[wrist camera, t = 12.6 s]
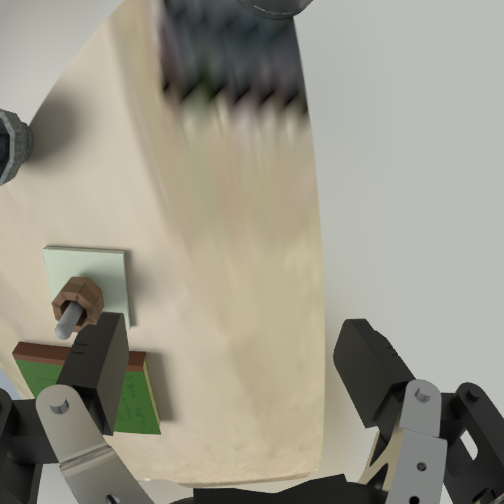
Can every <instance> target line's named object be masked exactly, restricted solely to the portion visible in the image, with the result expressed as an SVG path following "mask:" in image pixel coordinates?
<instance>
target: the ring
mask: <svg viewBox="0 0 504 504" xmlns="http://www.w3.org/2000/svg"><path fill="white" fill-rule="evenodd" d="M72 300H74V301H77V302H78V303H80V304H81V305H82V306H83V307H84V308H85V309H84V310H83V312H82V314H81V316H80V318H79V320H78V322H77V324H76V325H75V327H74V329H73V331H72V332H79V331H81V330H82V329H83V328H84V327H85V326H86V325H87V324H94V325H96V324H97V321H98V319H99V317H100V315H101V312H102V310H103V308H104V300H103V293H102V290H101V289H100V288H99V287H98V286H97V285H96V284H95V283H94V282H93V281H92V280H90V279H89V278H88V277H74V276H72V277H71V278H70V279H69V280H68V281H67V283H66V284H65V285H64V286H63V288H62V289H61V290H60V292H59V293H58V295H57V296H56V297H55V299H54V300H53V302H52V306H53V310H54V314H55V318H56V320H57V321H58V322H59V321H60V319H61V317H62V316H63V314H64V312H65V311H66V309H67V307H68V306H69V304H70V302H71V301H72Z"/></svg>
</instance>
